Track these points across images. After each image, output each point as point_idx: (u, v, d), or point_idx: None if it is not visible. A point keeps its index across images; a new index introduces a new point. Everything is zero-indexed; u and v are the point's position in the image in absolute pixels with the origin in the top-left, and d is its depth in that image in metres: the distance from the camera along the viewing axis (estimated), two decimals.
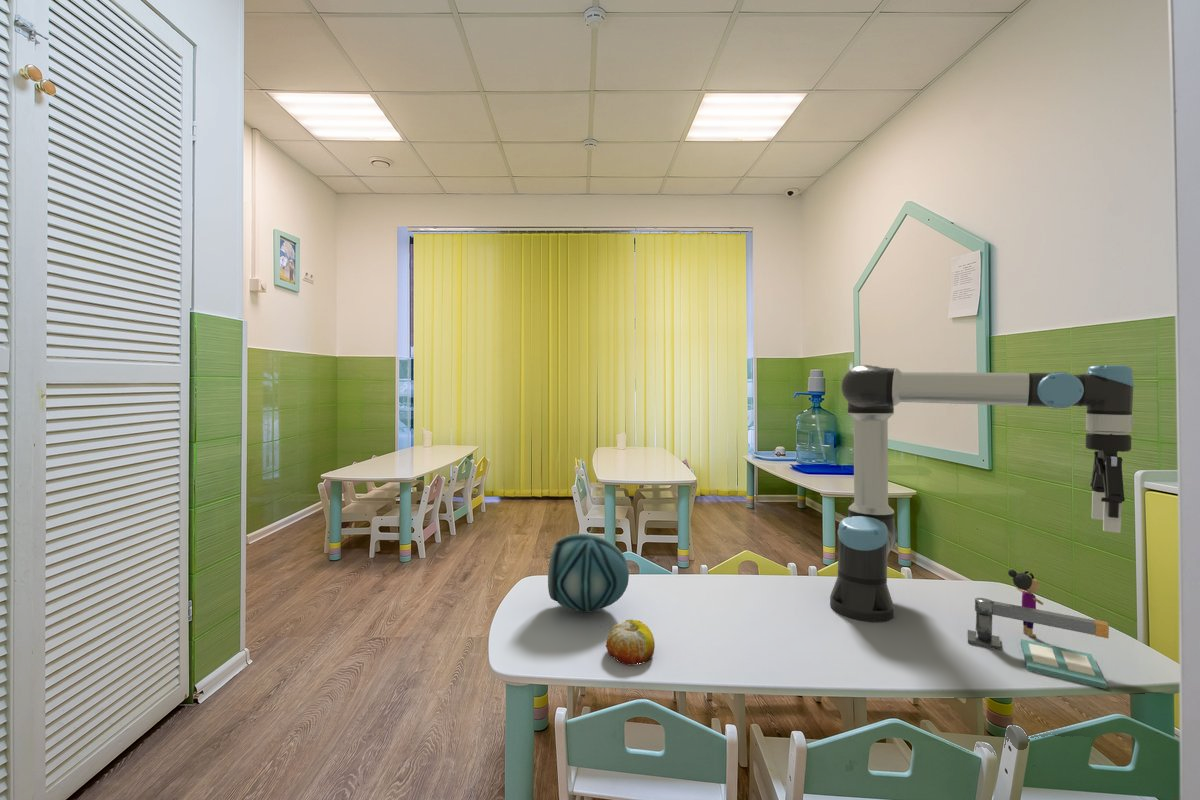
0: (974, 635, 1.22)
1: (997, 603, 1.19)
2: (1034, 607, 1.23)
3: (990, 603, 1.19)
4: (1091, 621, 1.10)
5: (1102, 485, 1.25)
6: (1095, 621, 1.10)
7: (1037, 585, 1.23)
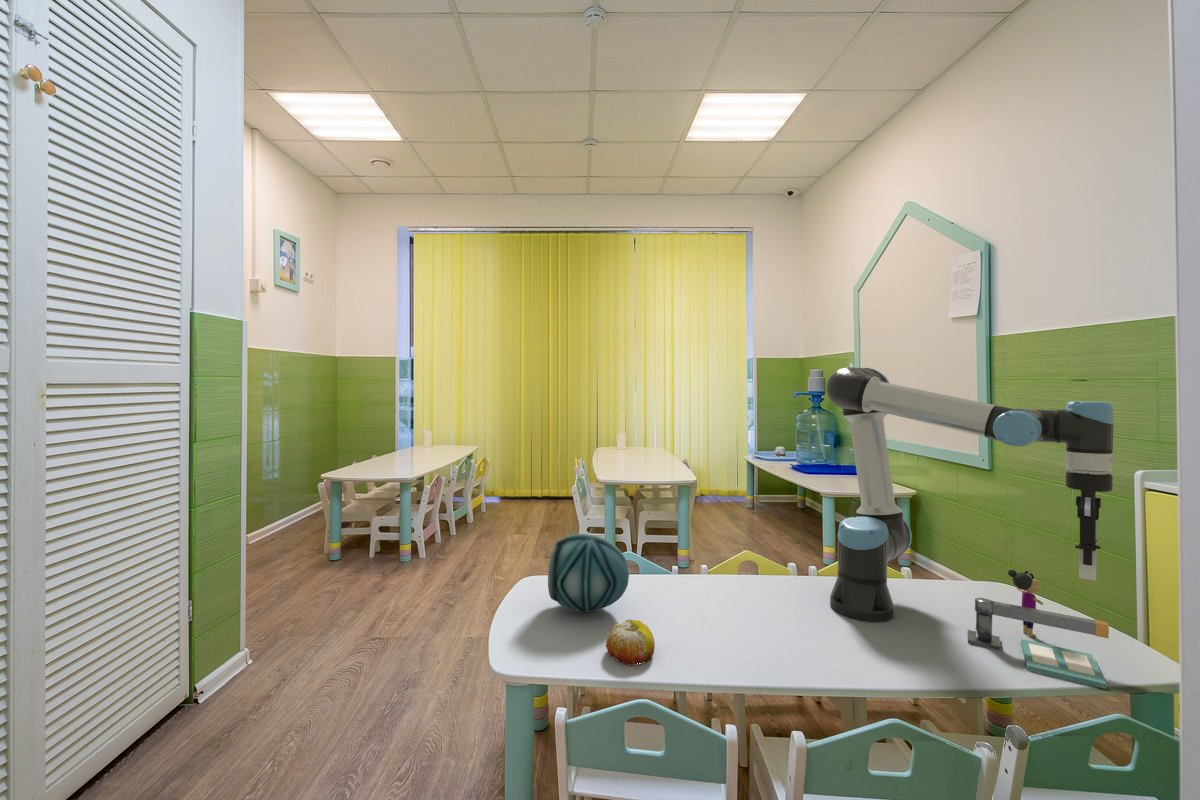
0: (974, 635, 1.22)
1: (997, 603, 1.19)
2: (1034, 607, 1.23)
3: (990, 603, 1.19)
4: (1091, 621, 1.10)
5: None
6: (1095, 621, 1.10)
7: (1037, 585, 1.23)
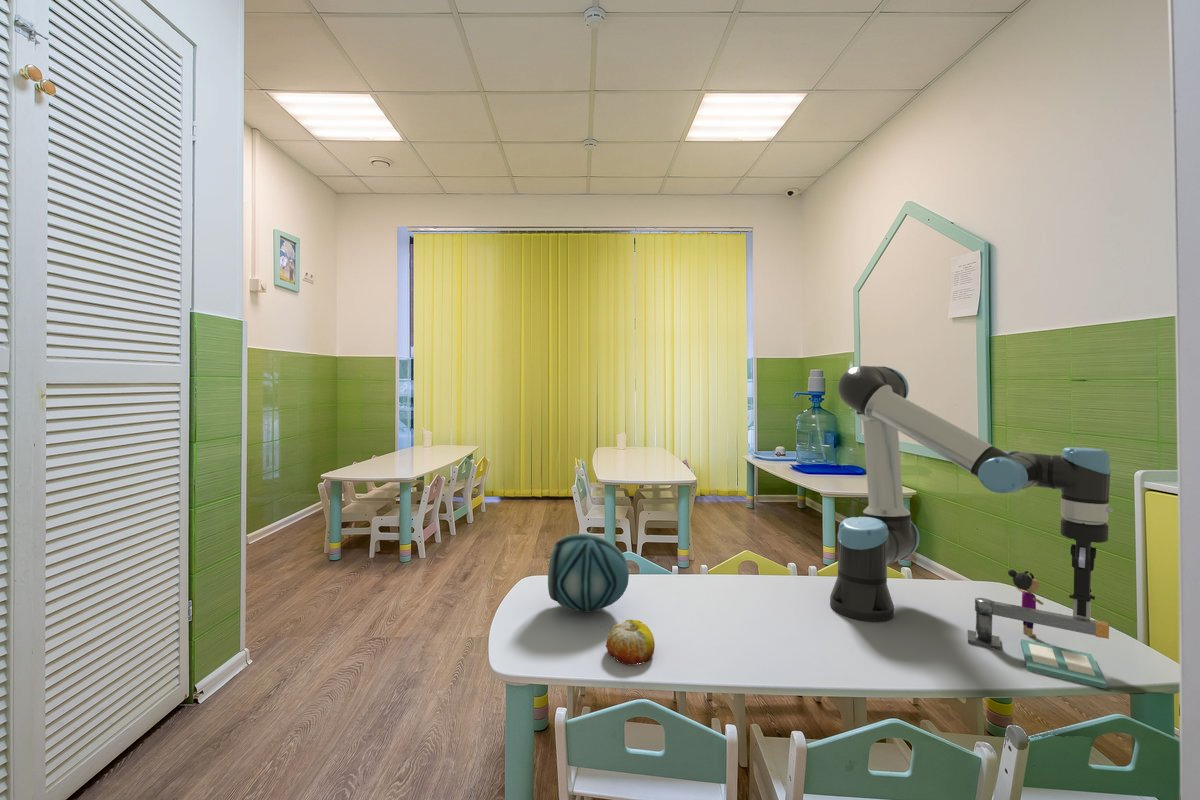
0: (974, 635, 1.22)
1: (997, 603, 1.19)
2: (1034, 607, 1.23)
3: (990, 603, 1.19)
4: (1091, 621, 1.10)
5: None
6: (1095, 621, 1.10)
7: (1037, 585, 1.23)
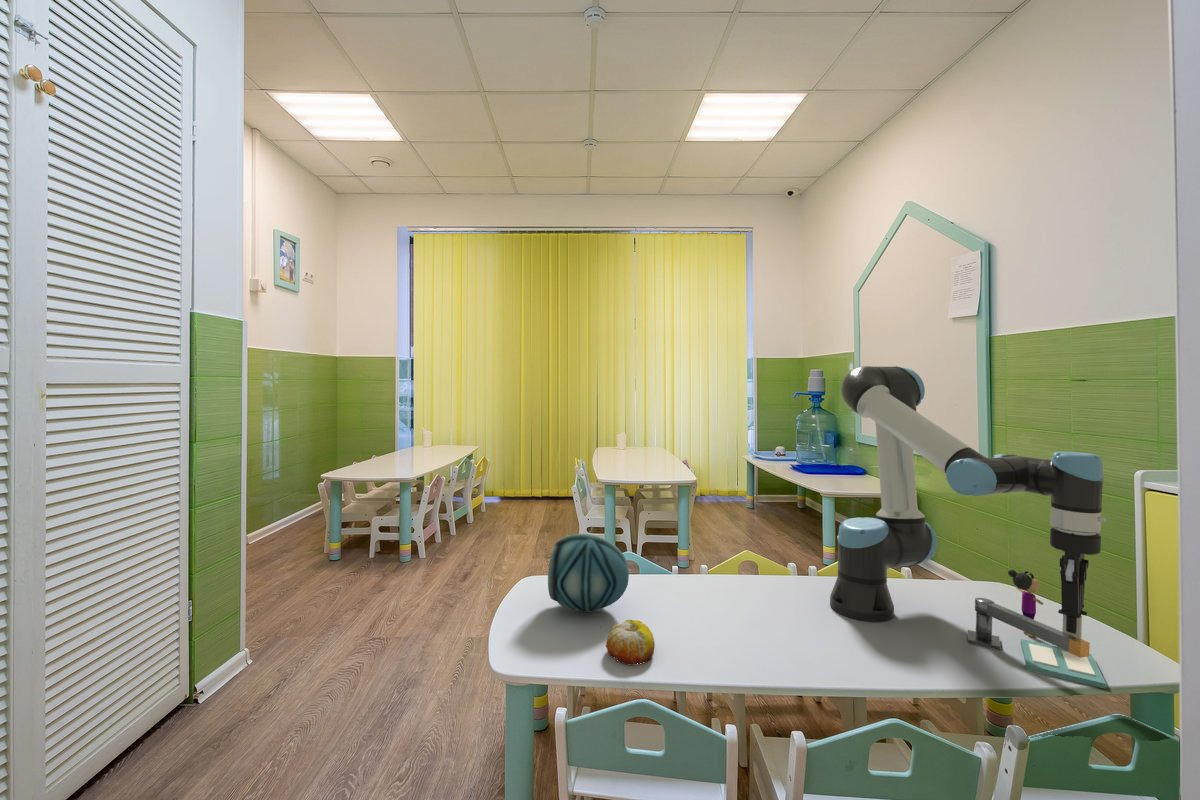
0: (974, 635, 1.22)
1: (994, 605, 1.18)
2: (1034, 607, 1.23)
3: (985, 603, 1.20)
4: (1069, 637, 1.03)
5: None
6: (1075, 639, 1.02)
7: (1037, 585, 1.23)
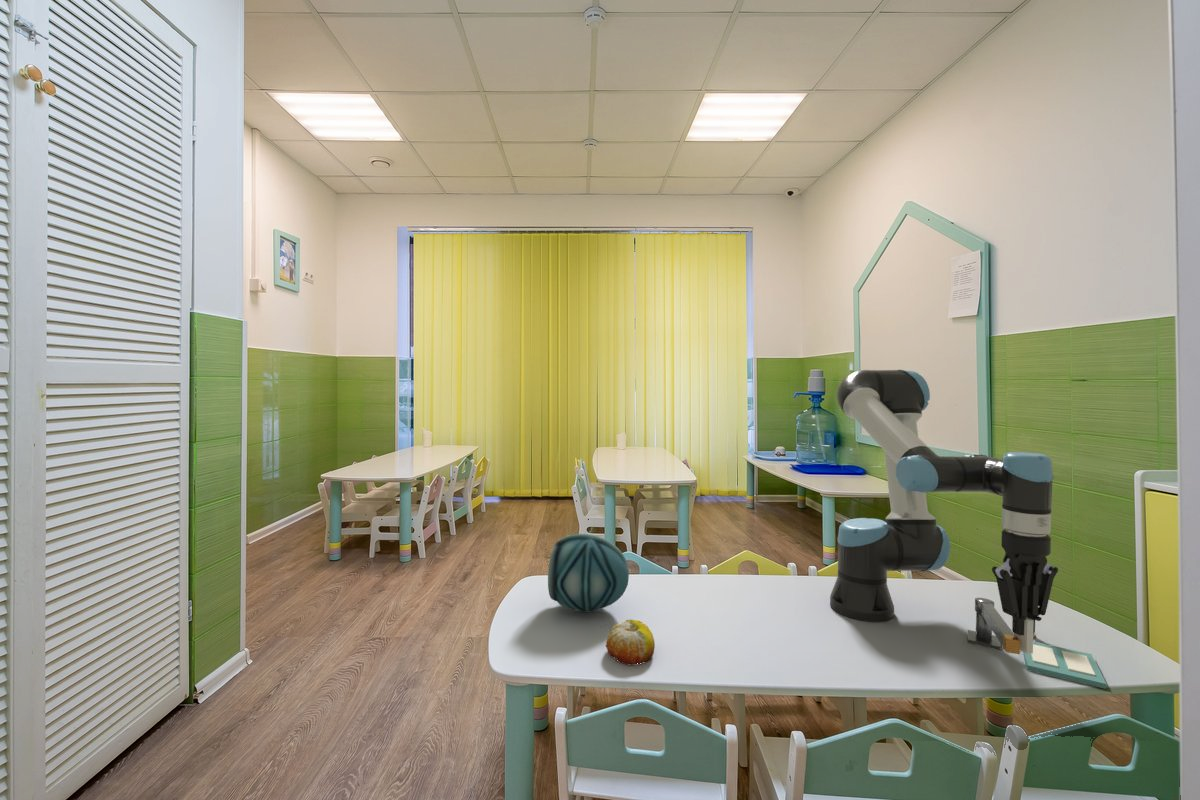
0: (974, 635, 1.22)
1: (986, 604, 1.19)
2: None
3: (980, 601, 1.20)
4: (1007, 634, 1.04)
5: (1028, 604, 1.03)
6: (1011, 636, 1.03)
7: None
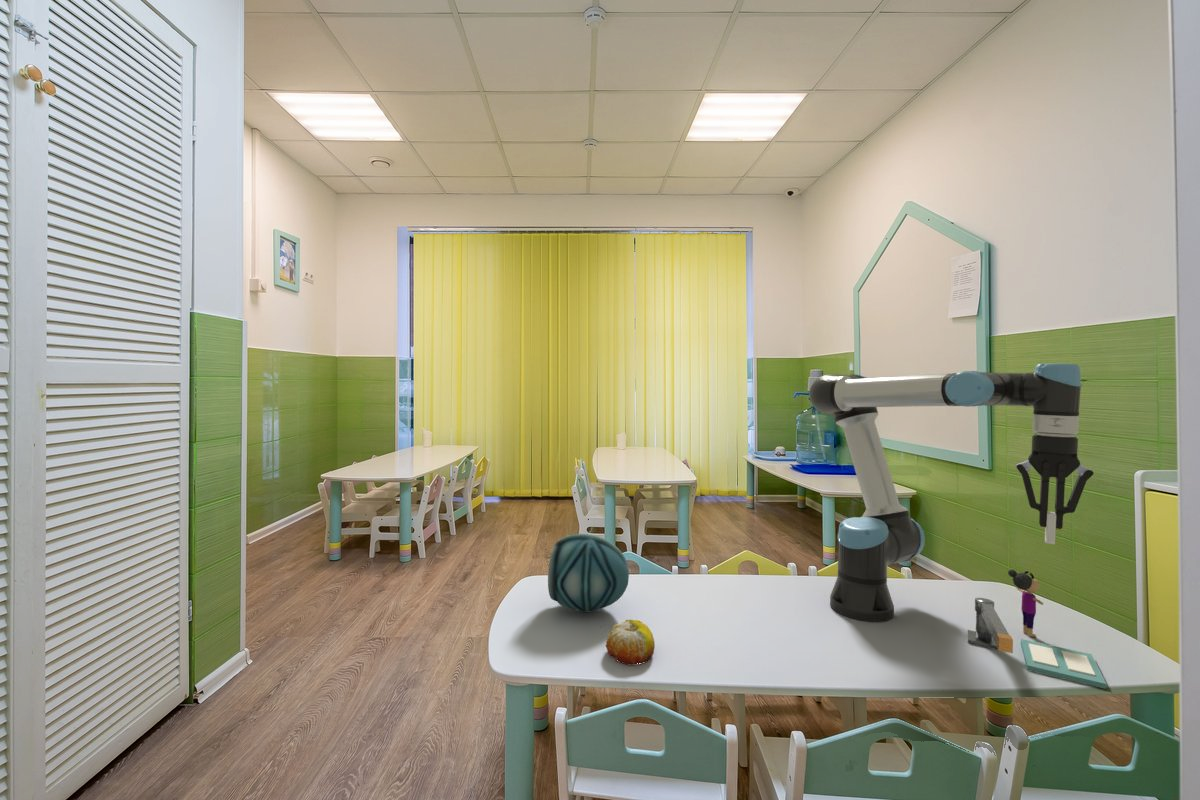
0: (974, 635, 1.22)
1: (986, 604, 1.19)
2: (1034, 607, 1.23)
3: (980, 601, 1.20)
4: (1001, 633, 1.05)
5: (1055, 501, 1.13)
6: (1005, 635, 1.04)
7: (1037, 585, 1.23)
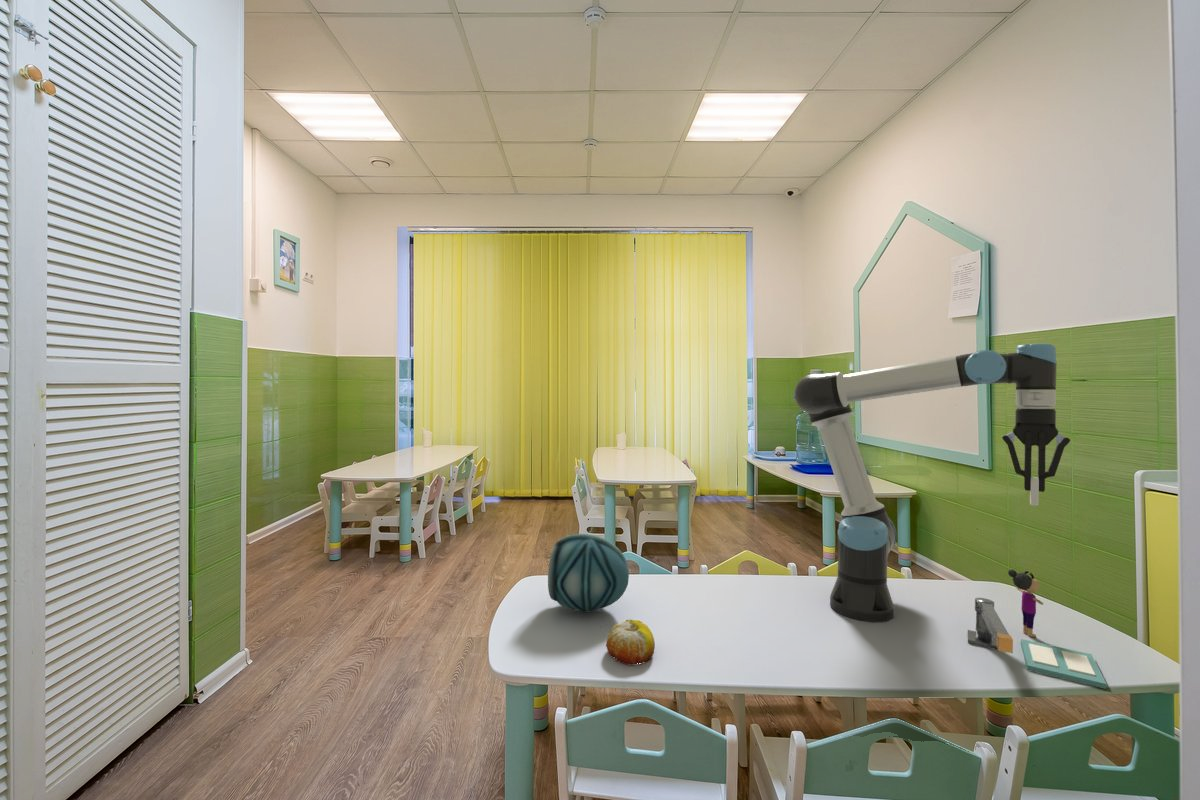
0: (974, 635, 1.22)
1: (986, 604, 1.19)
2: (1034, 607, 1.23)
3: (980, 601, 1.20)
4: (1001, 633, 1.05)
5: (1038, 467, 1.27)
6: (1005, 635, 1.04)
7: (1037, 585, 1.23)
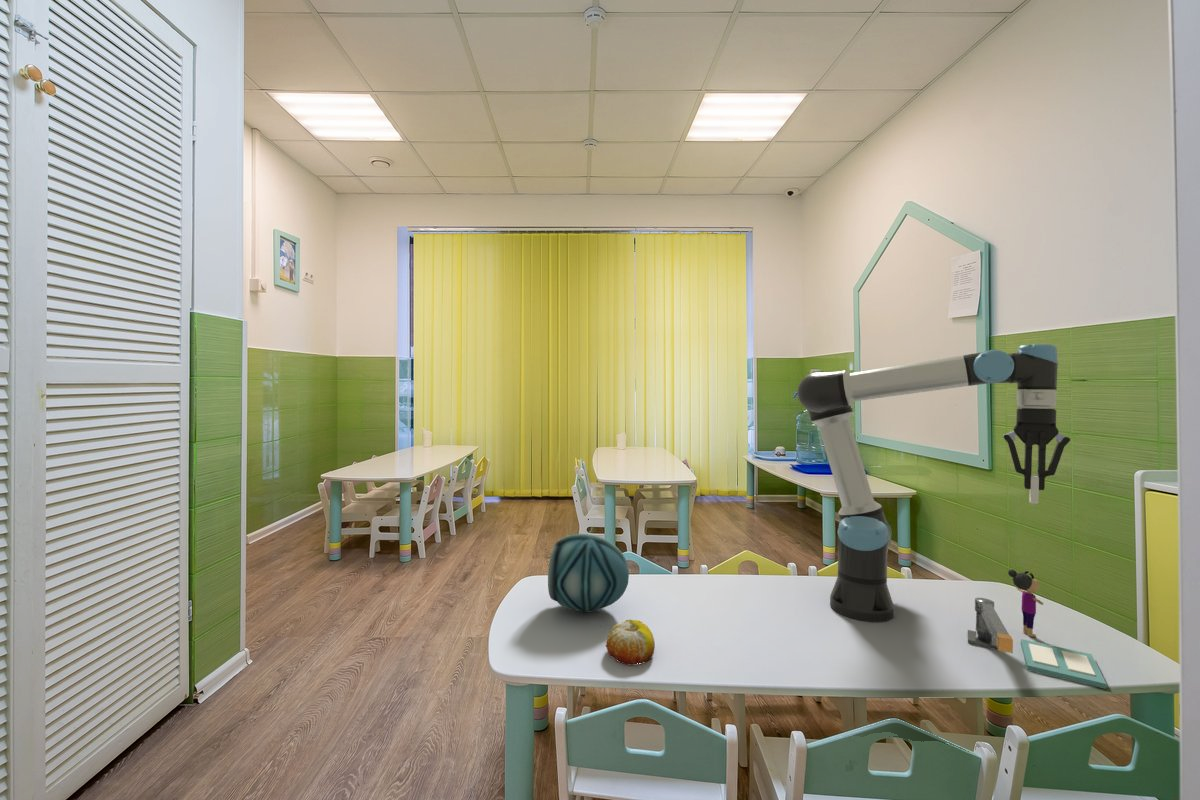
0: (974, 635, 1.22)
1: (986, 604, 1.19)
2: (1034, 607, 1.23)
3: (980, 601, 1.20)
4: (1001, 633, 1.05)
5: (1038, 466, 1.29)
6: (1005, 635, 1.04)
7: (1037, 585, 1.23)
